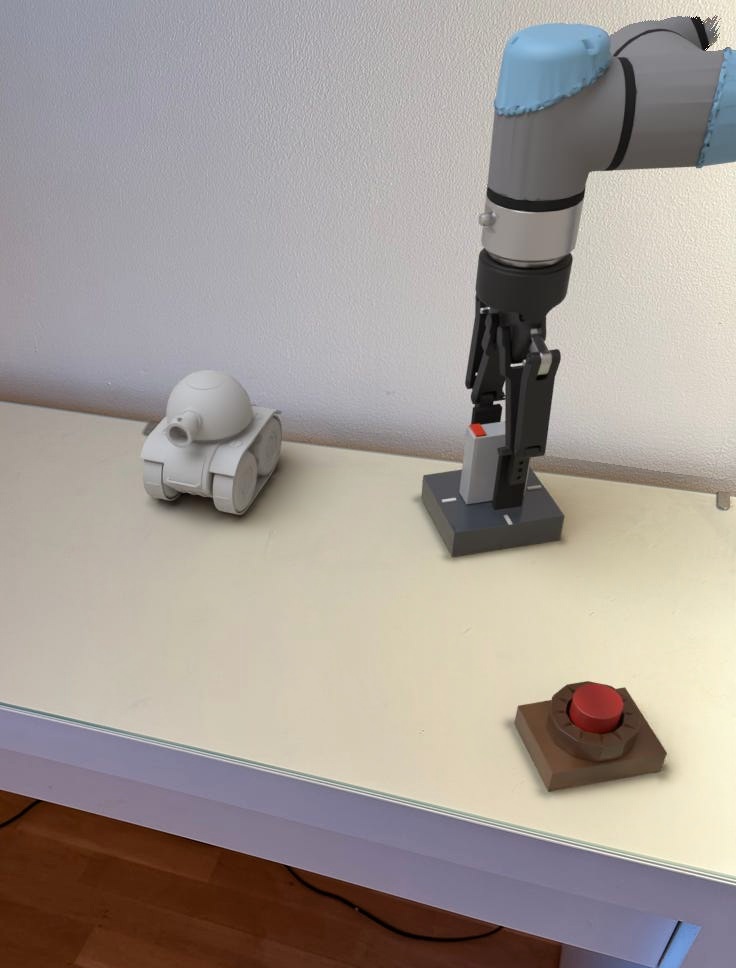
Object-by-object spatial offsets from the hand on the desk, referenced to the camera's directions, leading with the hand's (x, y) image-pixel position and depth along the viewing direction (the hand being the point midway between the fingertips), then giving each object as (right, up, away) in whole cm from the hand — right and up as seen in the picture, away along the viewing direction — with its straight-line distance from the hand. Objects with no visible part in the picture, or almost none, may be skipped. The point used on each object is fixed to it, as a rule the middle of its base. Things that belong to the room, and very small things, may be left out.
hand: (493, 484), depth 94 cm
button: (+2, -21, -21) cm, 30 cm away
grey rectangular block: (0, -1, +1) cm, 1 cm away
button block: (+3, -24, -19) cm, 30 cm away
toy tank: (-28, +1, +10) cm, 29 cm away
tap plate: (0, -3, +3) cm, 4 cm away
